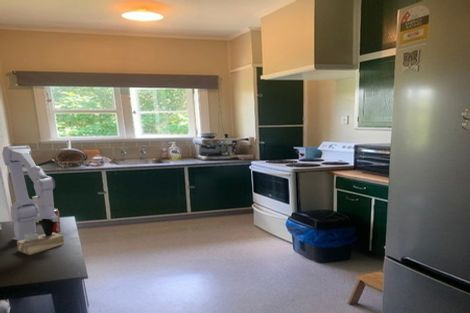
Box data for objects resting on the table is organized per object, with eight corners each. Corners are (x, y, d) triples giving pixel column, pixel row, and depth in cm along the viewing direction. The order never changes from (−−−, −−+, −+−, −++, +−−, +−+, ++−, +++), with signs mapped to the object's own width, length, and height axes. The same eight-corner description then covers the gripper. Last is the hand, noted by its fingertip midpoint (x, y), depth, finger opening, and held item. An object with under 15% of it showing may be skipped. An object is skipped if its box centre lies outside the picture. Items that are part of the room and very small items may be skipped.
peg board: (17, 250, 132) (16, 241, 131) (51, 240, 143) (51, 231, 143) (29, 255, 126) (28, 245, 126) (63, 243, 138) (63, 235, 138)
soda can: (55, 235, 150) (52, 211, 149) (45, 235, 151) (43, 211, 150) (63, 232, 155) (61, 208, 154) (54, 231, 156) (52, 208, 155)
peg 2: (43, 244, 137) (42, 235, 137) (51, 242, 140) (50, 233, 140) (47, 246, 135) (46, 237, 135) (55, 243, 138) (55, 234, 138)
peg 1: (25, 243, 131) (24, 234, 131) (34, 240, 134) (33, 231, 134) (29, 245, 129) (28, 235, 129) (38, 242, 132) (37, 233, 132)
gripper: (28, 205, 137) (30, 235, 138) (45, 208, 129) (48, 240, 130) (44, 202, 143) (47, 231, 144) (62, 205, 135) (64, 235, 136)
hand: (48, 235), depth 137 cm, fingers closed, pressing on peg 2
